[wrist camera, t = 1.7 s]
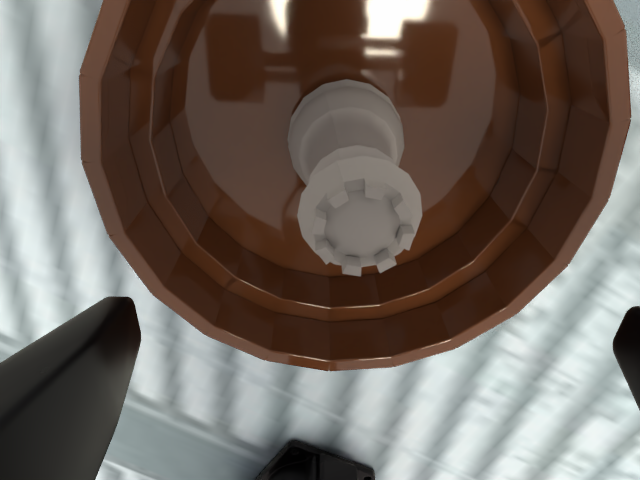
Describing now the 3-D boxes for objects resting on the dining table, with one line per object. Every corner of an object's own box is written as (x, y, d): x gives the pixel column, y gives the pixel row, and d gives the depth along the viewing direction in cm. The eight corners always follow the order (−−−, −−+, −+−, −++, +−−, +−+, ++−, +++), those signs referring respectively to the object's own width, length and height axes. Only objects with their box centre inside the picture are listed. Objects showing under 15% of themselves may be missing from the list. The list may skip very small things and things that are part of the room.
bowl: (387, 337, 24) (404, 420, 19) (85, 192, 19) (17, 256, 15) (638, 62, 17) (754, 91, 13) (260, -257, 13) (230, -389, 8)
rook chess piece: (269, 104, 17) (238, 188, 10) (379, 57, 16) (427, 112, 9) (314, 202, 19) (314, 326, 12) (414, 164, 18) (474, 274, 12)
